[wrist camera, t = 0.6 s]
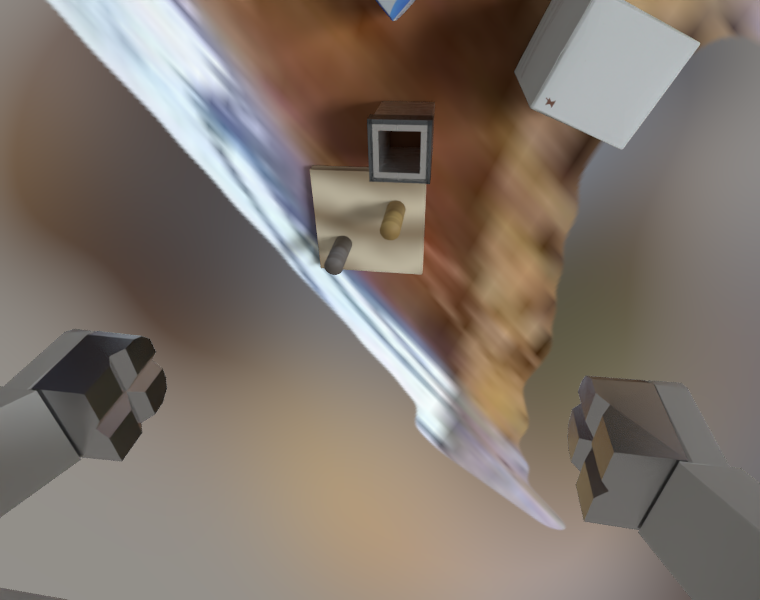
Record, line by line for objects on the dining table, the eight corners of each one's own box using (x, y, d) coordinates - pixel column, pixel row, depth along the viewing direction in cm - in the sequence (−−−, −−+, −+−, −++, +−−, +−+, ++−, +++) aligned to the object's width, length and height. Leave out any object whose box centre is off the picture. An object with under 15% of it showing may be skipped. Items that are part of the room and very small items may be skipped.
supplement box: (584, 108, 42) (620, 155, 32) (511, 72, 41) (525, 108, 31) (642, 20, 37) (706, 43, 27) (562, -22, 37) (597, -15, 27)
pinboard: (312, 165, 49) (295, 188, 44) (426, 169, 47) (422, 193, 42) (323, 262, 56) (309, 292, 51) (422, 268, 54) (418, 299, 49)
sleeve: (379, 98, 44) (367, 119, 38) (437, 99, 43) (432, 120, 38) (381, 155, 47) (369, 181, 42) (434, 156, 46) (429, 183, 41)
